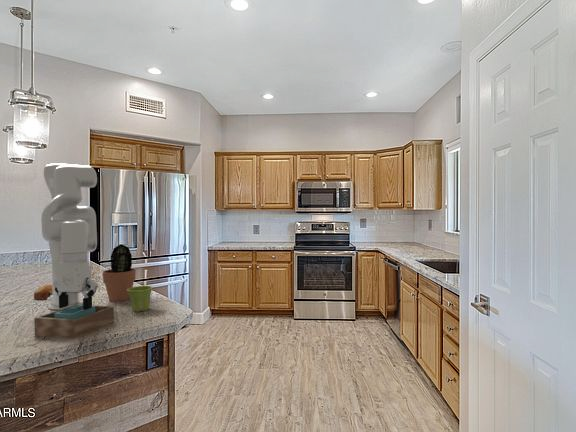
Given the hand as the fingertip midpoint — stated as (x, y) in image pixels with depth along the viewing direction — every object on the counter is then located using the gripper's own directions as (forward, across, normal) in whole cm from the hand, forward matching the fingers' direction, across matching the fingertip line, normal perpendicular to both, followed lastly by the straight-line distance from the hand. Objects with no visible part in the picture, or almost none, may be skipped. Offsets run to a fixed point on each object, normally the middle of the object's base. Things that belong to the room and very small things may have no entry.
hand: (75, 307), depth 115 cm
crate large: (+7, +1, 0) cm, 7 cm away
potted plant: (+8, -13, +38) cm, 41 cm away
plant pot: (+7, +8, +24) cm, 26 cm away
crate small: (+6, 0, 0) cm, 6 cm away
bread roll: (+9, -52, +35) cm, 63 cm away
